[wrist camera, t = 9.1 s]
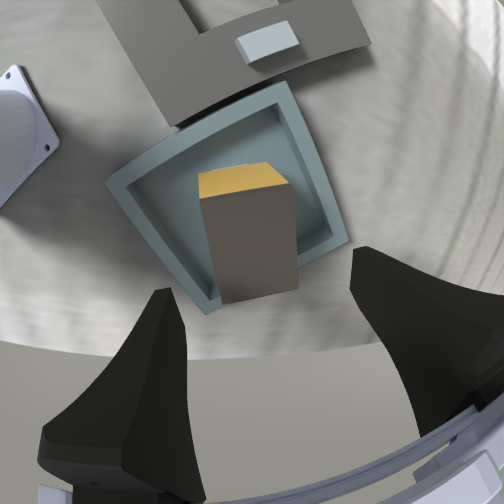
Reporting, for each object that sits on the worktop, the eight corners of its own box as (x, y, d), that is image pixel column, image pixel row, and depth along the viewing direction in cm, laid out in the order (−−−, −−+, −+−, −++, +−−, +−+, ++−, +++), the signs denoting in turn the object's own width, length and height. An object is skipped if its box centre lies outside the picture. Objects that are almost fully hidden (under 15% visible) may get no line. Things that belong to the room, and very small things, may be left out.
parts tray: (203, 294, 23) (205, 315, 21) (114, 172, 17) (104, 182, 15) (334, 226, 22) (349, 240, 20) (274, 82, 16) (285, 80, 14)
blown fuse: (212, 240, 20) (222, 304, 14) (197, 165, 18) (199, 203, 12) (267, 230, 21) (298, 288, 15) (259, 155, 18) (293, 186, 12)
